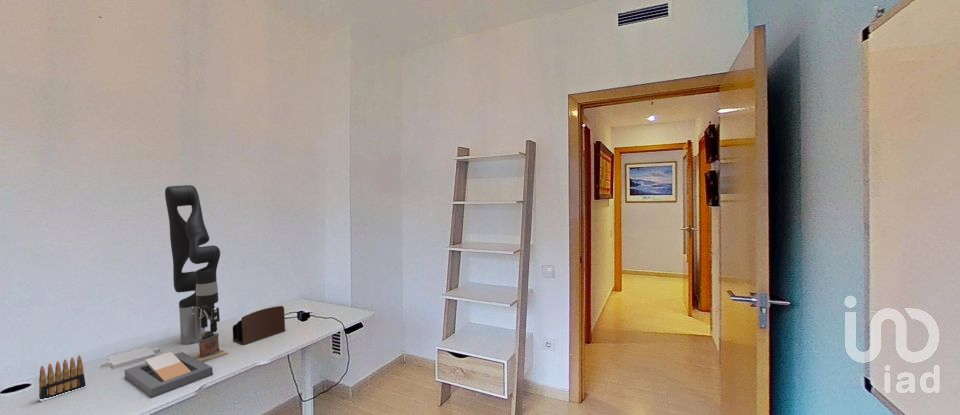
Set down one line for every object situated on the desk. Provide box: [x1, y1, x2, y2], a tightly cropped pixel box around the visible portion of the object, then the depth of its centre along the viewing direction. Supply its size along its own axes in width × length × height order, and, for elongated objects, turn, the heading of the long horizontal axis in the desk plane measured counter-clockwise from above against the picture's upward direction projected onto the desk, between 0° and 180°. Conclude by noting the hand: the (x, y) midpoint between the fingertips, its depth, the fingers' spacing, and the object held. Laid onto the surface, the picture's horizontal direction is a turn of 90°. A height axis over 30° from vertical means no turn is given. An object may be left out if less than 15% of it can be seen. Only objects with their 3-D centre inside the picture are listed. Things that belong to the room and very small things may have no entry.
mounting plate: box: [100, 346, 161, 370], centre depth 154 cm, size 18×13×2 cm
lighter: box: [198, 330, 220, 358], centre depth 156 cm, size 8×3×10 cm, turn 165°
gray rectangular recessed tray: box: [123, 351, 214, 398], centre depth 138 cm, size 28×18×3 cm, turn 58°
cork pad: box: [190, 348, 228, 363], centre depth 155 cm, size 10×10×1 cm
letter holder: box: [232, 305, 286, 346], centre depth 176 cm, size 10×20×14 cm, turn 148°
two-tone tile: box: [144, 351, 191, 381], centre depth 138 cm, size 20×8×1 cm, turn 59°
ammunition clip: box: [38, 355, 87, 399], centre depth 127 cm, size 11×2×12 cm, turn 153°
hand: (209, 329), depth 156 cm, fingers open, 8 cm apart
